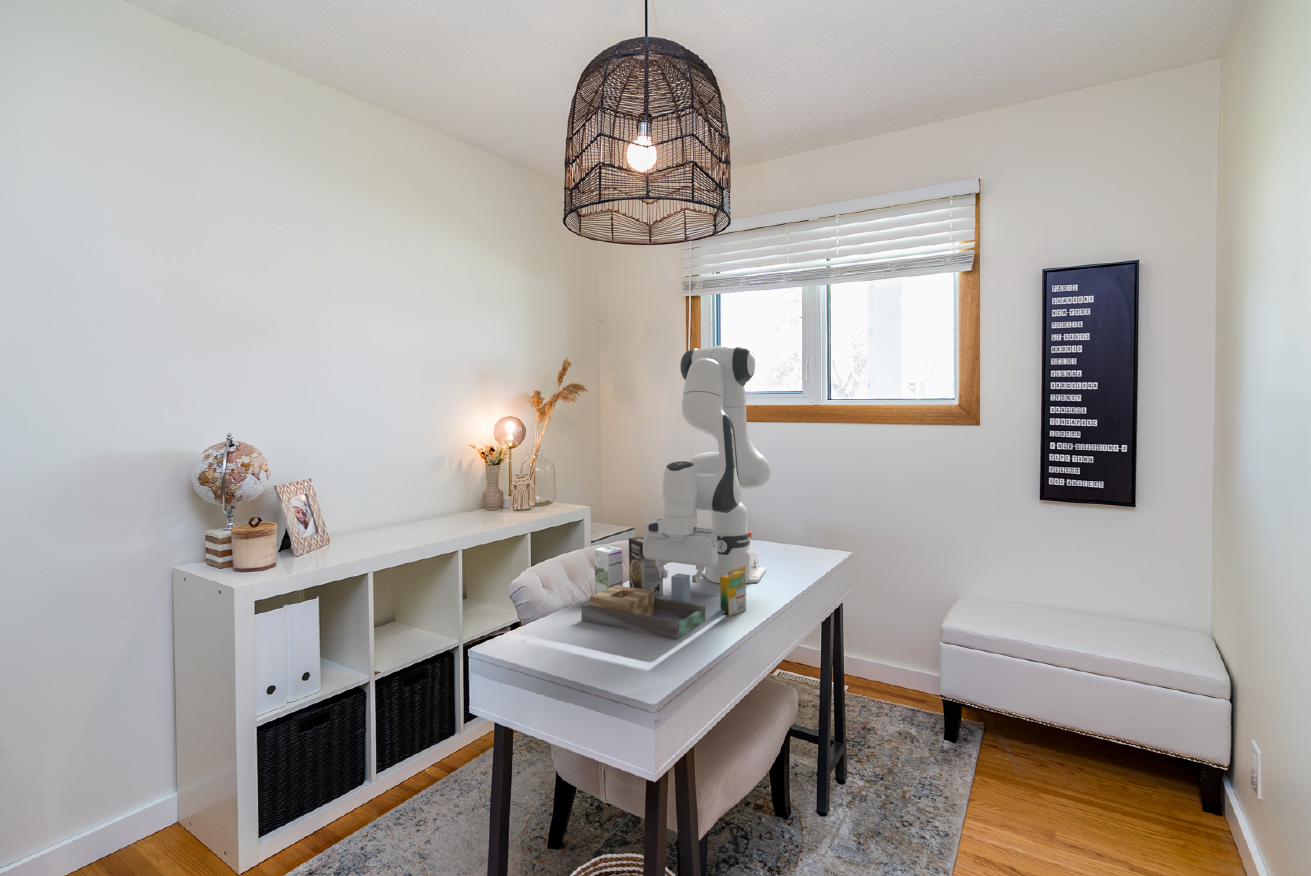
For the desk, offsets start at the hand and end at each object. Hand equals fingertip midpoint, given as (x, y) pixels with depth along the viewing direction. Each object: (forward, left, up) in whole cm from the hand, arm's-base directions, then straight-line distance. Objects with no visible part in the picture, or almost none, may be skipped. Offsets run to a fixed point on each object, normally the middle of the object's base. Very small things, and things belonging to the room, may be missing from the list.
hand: (679, 580), depth 163 cm
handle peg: (-1, 0, -9) cm, 9 cm away
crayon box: (-9, +11, -9) cm, 17 cm away
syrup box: (-2, -23, -9) cm, 25 cm away
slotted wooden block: (+11, -10, -8) cm, 17 cm away
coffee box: (-10, -16, -9) cm, 21 cm away
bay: (+11, -4, -9) cm, 15 cm away
